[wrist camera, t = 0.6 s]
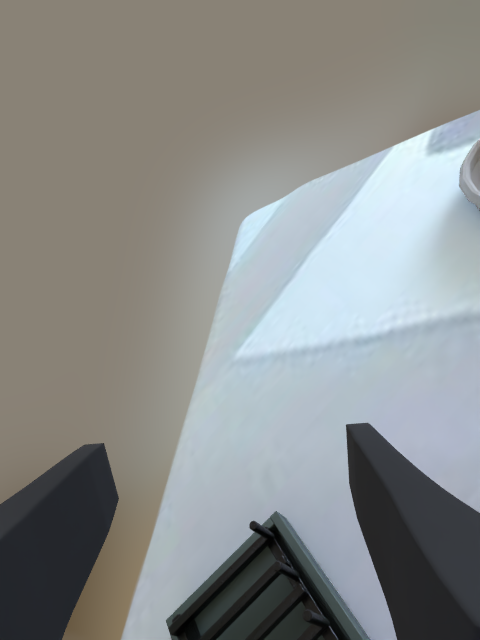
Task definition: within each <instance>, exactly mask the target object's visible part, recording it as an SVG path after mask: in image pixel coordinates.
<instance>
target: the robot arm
mask: <svg viewBox="0 0 480 640" xmlns="http://www.w3.org/2000/svg"><path fill="white" fill-rule="evenodd" d="M346 432H347V449H348V467H349V484H350V489H351V493H352V498H353V502H354V506H355V511H356V515H357V519H358V522H359V525H360V528H361V530H362V533H363V536H364V539H365V542H366V545H367V548H368V550H369V553H370V556H371V559H372V562H373V565H374V567H375V570H376V573H377V576H378V579H379V581H380V584H381V587H382V590H383V593H384V596H385V598H386V601H387V605H388V608H389V611H390V614H391V618H392V621H393V625H394V629H395V632H396V636H397V640H480V513H479V512H477V511H476V510H474V509H473V508H471V507H469V506H468V505H466V504H465V503H463V502H462V501H460V500H459V499H457V498H456V497H454V496H453V495H451V494H450V493H449V492H447V491H446V490H444V489H443V488H442V487H440V486H439V485H438V484H436V483H435V482H434V481H433V480H431V479H430V478H429V477H427V476H426V475H425V474H424V473H423V472H421V471H420V470H419V469H418V468H417V467H415V466H414V465H413V464H412V463H411V462H410V461H409V460H407V459H406V458H405V457H404V456H403V455H402V454H401V453H399V452H398V451H397V450H396V449H395V448H394V447H393V446H392V445H391V444H390V443H389V442H388V441H387V440H386V439H385V438H384V437H383V436H381V435H380V434H379V433H378V432H377V431H376V430H375V429H374V428H373V427H372V426H371V425H370V424H369V423H360V424H347V425H346ZM118 499H119V498H118V494H117V491H116V486H115V483H114V479H113V476H112V472H111V468H110V464H109V461H108V457H107V453H106V449H105V446H104V443H101V444H88V445H83V446H82V447H80V448H79V449H77V450H76V451H74V452H73V453H71V454H70V455H68V456H67V457H66V458H64V459H63V460H61V461H60V462H59V463H57V464H56V465H55V466H53V467H52V468H51V469H49V470H48V471H47V472H45V473H44V474H43V475H41V476H40V477H38V478H37V479H36V480H34V481H33V482H32V483H30V484H29V485H27V486H26V487H25V488H23V489H22V490H21V491H19V492H18V493H16V494H15V495H13V496H12V497H10V498H9V499H7V500H6V501H4V502H3V503H2V504H0V640H62V638H63V635H64V632H65V629H66V627H67V624H68V622H69V620H70V617H71V615H72V612H73V610H74V608H75V606H76V603H77V601H78V599H79V597H80V595H81V592H82V590H83V588H84V586H85V583H86V581H87V579H88V577H89V575H90V573H91V570H92V568H93V566H94V564H95V562H96V559H97V557H98V555H99V553H100V550H101V548H102V546H103V544H104V542H105V539H106V537H107V535H108V532H109V529H110V526H111V523H112V520H113V517H114V513H115V510H116V506H117V503H118Z"/></svg>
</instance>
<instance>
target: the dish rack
mask: <svg viewBox="0 0 480 640" xmlns="http://www.w3.org/2000/svg"><path fill="white" fill-rule="evenodd" d="M250 529H251V530H253V531H254V533H253V534H252V535H251V536H250V537H249V538H248V539H247V540H246V541H245V542H244V543H243V544H242V545H241V546H240V547H239V548H238V549H237V550H236V551H235V552H234V553H233V554H232V555H231V556H230V557H229V558H228V559H227V560H226V561H225V562H224V563H223V564H222V565H221V566H220V567H219V568H218V569H217V570H216V571H215V572H214V573H213V574H212V575H211V576H210V577H209V578H208V579H207V580H206V581H205V582H204V583H203V584H202V585H201V586H200V587H199V588H198V589H197V590H196V591H195V592H194V593H193V594H192V595H191V596H190V597H189V598H188V599H187V600H186V601H185V602H184V603H183V604H182V605H181V606H180V607H179V608H178V609H177V610H176V611H175V612H174V613H173V614H172V615H171V616H170V617H169V618H168V619H167V620H166V623H167V626H168V629H169V632H170V635H171V639H172V640H370V639H369V637H368V636H367V634H366V633H365V631H364V630H363V629H362V627H361V626H360V624H359V623H358V621H357V620H356V618H355V617H354V616H353V614H352V613H351V611H350V610H349V608H348V607H347V606H346V604H345V603H344V601H343V600H342V598H341V597H340V595H339V594H338V593H337V591H336V590H335V588H334V587H333V585H332V584H331V582H330V581H329V580H328V578H327V577H326V575H325V574H324V572H323V571H322V569H321V568H320V567H319V565H318V564H317V562H316V561H315V559H314V558H313V557H312V555H311V554H310V552H309V551H308V549H307V548H306V546H305V545H304V544H303V542H302V541H301V539H300V538H299V536H298V535H297V533H296V532H295V531H294V529H293V528H292V526H291V525H290V523H289V522H288V520H287V519H286V518H285V517H284V516H282V515H281V514H280V513H278V512H277V511H276V512H275V513H274V514H272V515H271V516H270V518H269V519H268V520H267V521H266V522H265V523H264V524H263V525H260V524H259V523H257V522H256V521H252V522H251V523H250Z"/></svg>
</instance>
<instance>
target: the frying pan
mask: <svg viewBox="0 0 480 640" xmlns="http://www.w3.org/2000/svg"><path fill="white" fill-rule="evenodd" d="M459 187H460V188H461V190H462V192H463V193H464V195H465V196H466V198H467V199H468V201H469V202H471V203H473V204H475V205H476V206H477V208H478V209H479V211H480V139H479V140H478V141H477V142H476V143H475V144H474V145H473V146H472V148H471V149H470V151H469V153H468V155H467V156H466V158H465V160H464V161H463V164H462V166H461V168H460V179H459Z"/></svg>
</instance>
